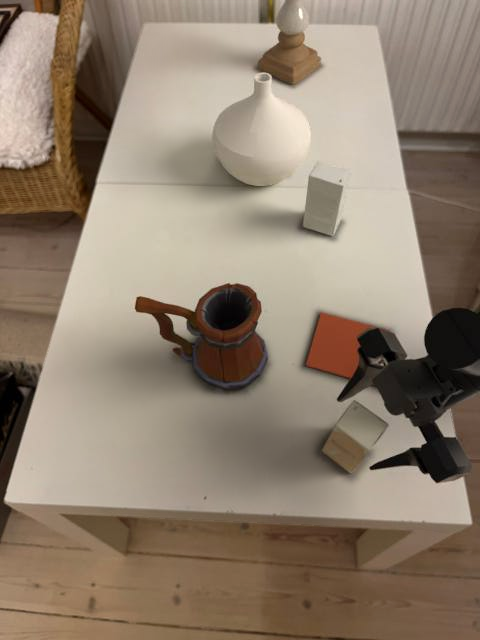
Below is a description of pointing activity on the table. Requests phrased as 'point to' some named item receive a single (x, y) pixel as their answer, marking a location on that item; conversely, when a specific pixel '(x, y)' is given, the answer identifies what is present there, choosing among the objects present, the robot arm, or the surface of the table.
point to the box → (354, 436)
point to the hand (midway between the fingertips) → (354, 433)
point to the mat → (336, 345)
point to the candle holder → (290, 46)
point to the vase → (261, 136)
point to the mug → (217, 334)
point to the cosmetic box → (325, 197)
